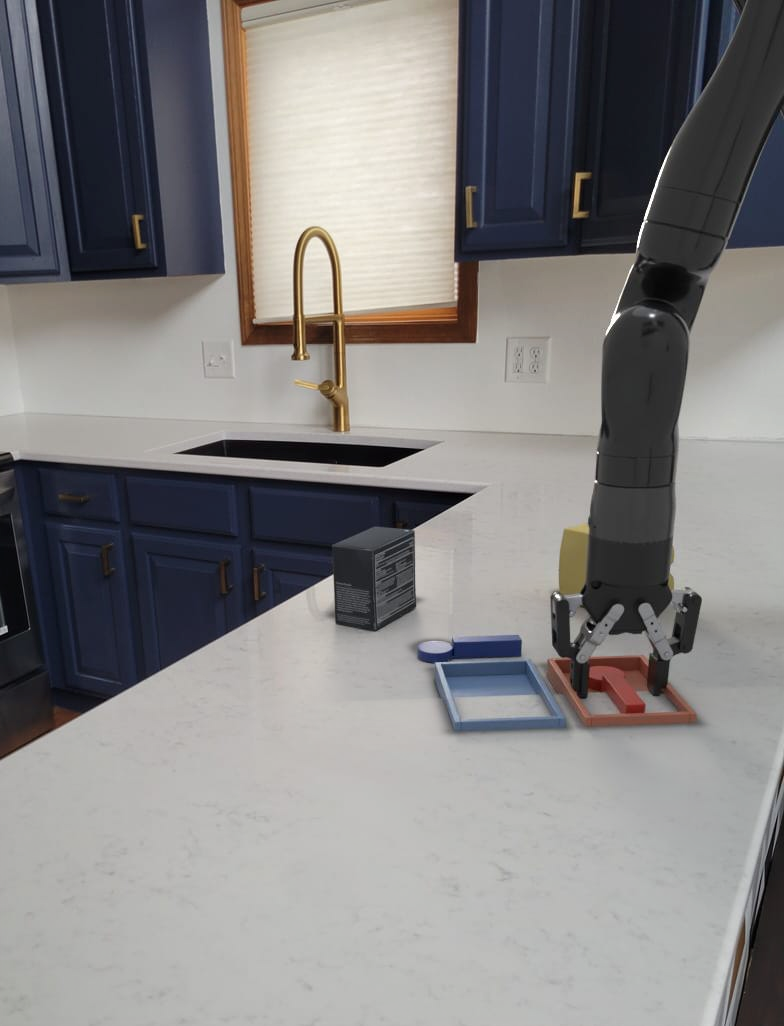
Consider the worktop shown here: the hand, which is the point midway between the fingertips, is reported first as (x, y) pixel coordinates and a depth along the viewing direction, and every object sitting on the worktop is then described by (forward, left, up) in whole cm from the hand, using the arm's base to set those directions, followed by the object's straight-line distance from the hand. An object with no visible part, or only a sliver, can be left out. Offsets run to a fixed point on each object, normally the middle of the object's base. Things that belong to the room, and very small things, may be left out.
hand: (617, 692), depth 95 cm
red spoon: (0, 0, -1) cm, 1 cm away
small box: (+22, -29, -1) cm, 37 cm away
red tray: (0, 0, -1) cm, 1 cm away
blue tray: (+12, 0, -1) cm, 12 cm away
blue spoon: (+12, -14, -1) cm, 19 cm away
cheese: (-9, -31, -1) cm, 33 cm away
